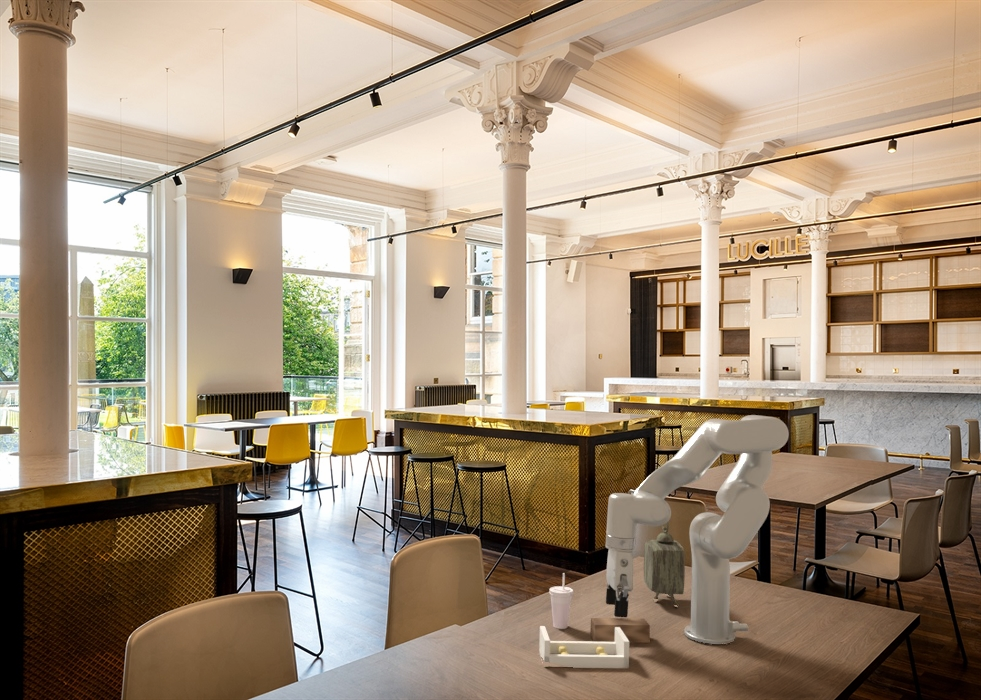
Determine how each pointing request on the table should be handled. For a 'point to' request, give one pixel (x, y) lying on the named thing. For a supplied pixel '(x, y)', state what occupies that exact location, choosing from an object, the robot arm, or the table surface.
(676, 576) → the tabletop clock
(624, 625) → the plank
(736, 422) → the robot arm
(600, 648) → the frame
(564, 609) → the smoothie
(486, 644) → the table surface
